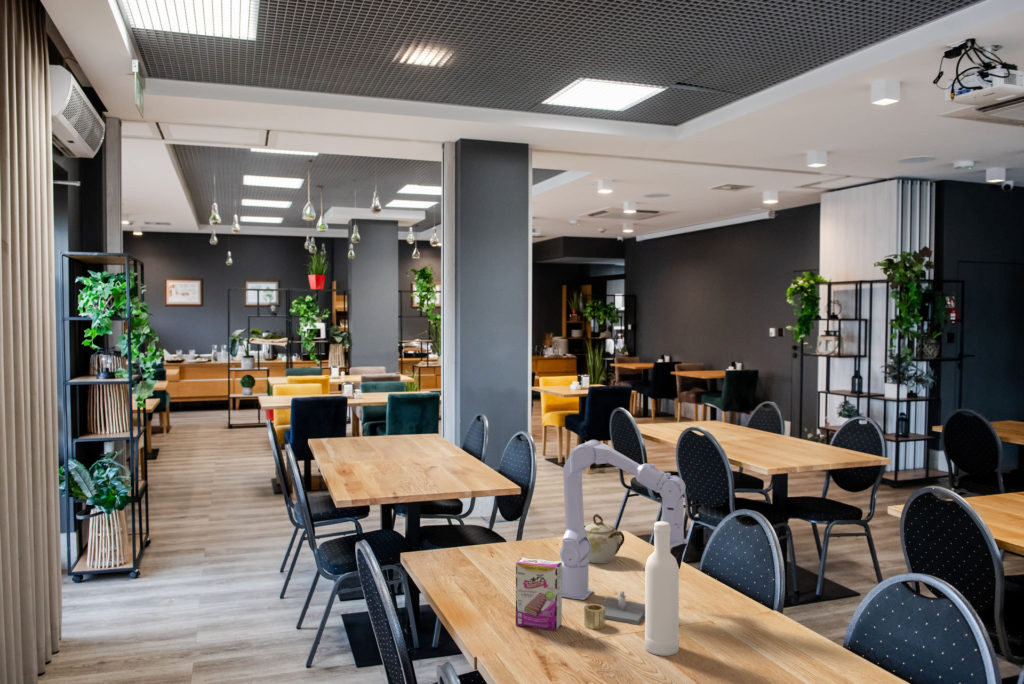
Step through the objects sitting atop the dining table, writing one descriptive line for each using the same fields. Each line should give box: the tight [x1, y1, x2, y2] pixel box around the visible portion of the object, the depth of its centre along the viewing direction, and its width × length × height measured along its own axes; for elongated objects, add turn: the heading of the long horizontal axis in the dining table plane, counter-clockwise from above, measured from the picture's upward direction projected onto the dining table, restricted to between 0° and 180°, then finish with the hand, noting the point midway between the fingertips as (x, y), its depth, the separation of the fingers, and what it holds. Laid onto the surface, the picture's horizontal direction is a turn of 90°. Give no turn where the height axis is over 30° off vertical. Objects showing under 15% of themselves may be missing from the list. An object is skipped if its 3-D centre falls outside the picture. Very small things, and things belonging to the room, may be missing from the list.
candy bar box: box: [515, 557, 563, 632], centre depth 191 cm, size 11×5×16 cm, turn 71°
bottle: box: [644, 520, 680, 657], centre depth 177 cm, size 8×8×30 cm
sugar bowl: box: [584, 513, 625, 564], centre depth 245 cm, size 20×15×15 cm
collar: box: [583, 603, 606, 630], centre depth 191 cm, size 5×5×4 cm
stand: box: [601, 591, 645, 625], centre depth 199 cm, size 12×12×6 cm
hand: (672, 572), depth 201 cm, fingers open, 7 cm apart
